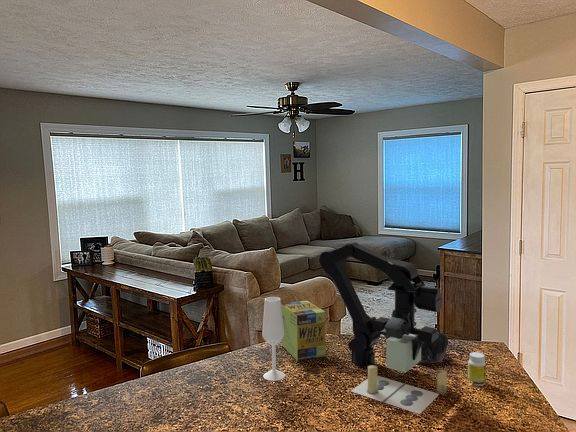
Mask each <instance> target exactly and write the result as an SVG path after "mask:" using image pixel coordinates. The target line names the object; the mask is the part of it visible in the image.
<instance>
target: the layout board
mask: <svg viewBox="0 0 576 432" xmlns="http://www.w3.org/2000/svg"><path fill="white" fill-rule="evenodd" d="M350 392H351V393H355V394H358V395H361V396H364V397H367V398H370V399H373V400H376V401H379V402H381V403H383V404H384V403H385V404H388V405H391V406H394V407H398V408H400V409H402V410H406V411H409V412H410V413H411V412H412V413H414V414H418V415H420V414H421V413H422V412H424V411H425V409H427V408H428V406H430V404H431V403H432V402H433V401H434V400H435V399H437V397H438V396H439V395H440V394H438V393H437V392H434V391H431V390H430V391H429V390H427V389H424V388H421V387H416V386H413V385H411V384H406V383H405V382H404V383H403V382H400V381H397V380H394V379H389V378H386V377H383V376H379V375H378V366H377V365H370V366H368V367H367V379H366V380H364V381H363V382H361V383H360V384H358V385H357V386H356V387H354V388H353V389H352V390H350Z"/></svg>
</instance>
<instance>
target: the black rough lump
mask: <svg viewBox="0 0 576 432" xmlns="http://www.w3.org/2000/svg"><path fill="white" fill-rule="evenodd" d="M448 345H449V339H448V337H447V335H446V334H445V333H444V332H442V331H439V336H438V339H436V340H435V341H434V342H432V343H426V342H424V343H423V344H422V346H421V361H420V362H418V363H417V364H427V365H428V364H435V363H436V364H437V363H442V362H443V361H444V358H445V355H446V353H447V350H448V348H447V347H448Z"/></svg>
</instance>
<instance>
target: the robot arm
mask: <svg viewBox="0 0 576 432" xmlns="http://www.w3.org/2000/svg"><path fill="white" fill-rule="evenodd" d="M349 258H353V259H355V260H357V261H359V262H362V263H363V264H365V265H367V266H369V267H371V268H373V269H376V270H378V271H380V272H381V273H383V274H384V275H385V276H386V277H387V278H388V279H389V280H390V281H392V282H393V283H392V284H391V285H390V286H389V287H387V290H388V291H392V292H393V291H394V309H393V310H392V313H391V317H390V318H388V317H383V316H380V317H378V318H376V316H373V317H371V316H369V315H368V314H367V312H366V311H365V308H364V306H363V304H362V302H361V300H360V297H359V295H358V293H357V292H356V289H355V287H354V285H353V283H352V281H351V279H350V277H349V276H348V272H347V261H346V260H347V259H349ZM318 264H319V265H320V267H321V268H322V270H323V271H324V273H325V274H326V275H327V276H328V277H330V278H331V279H332V280H333V282H334V284H335V287H336V289H337V292H338V293H339V295H340V297H341V300H342V301H343V303H344V306H345V307H346V310H347V312H348V314H349V315H350V318H351V321H352V333H353V336H354V337H353V338H352V339H351V340H350V341H349V342H348V343H347V345H348V349H349V351H351V363H353V364H354V365H355V366H357V367H361V368H362V367H363V368H364V367H367V368H368V366H370V365H374V366H376V365H375V364H376V363H375V362H376V358H375V357H376V355H375V353H374V352H375V351H374V346H375V345H376V343H377V342H378V341H379V340H380V338H381V336H382V335H383V336H384V337H385V338H386V340H387V339H388V338H389V337H395V338H397V339H400V338H402V337H403V335H409V334H413V335H415V337H416V338H415V339H413V340H412V342H413V360H415V359H416V357H417V355H418V353H419V350H420V348H421V346H422V344H423V343H424V342H426V343H432V342H434V341H435V340H436V339H438V336H439V333H440V331H439V330H438V329H437V328H435V327H431V326H426V325H425V326H423V327H422V328H418V327H417V328H416V326H417V322H416V321H415V320H416V319H415V313H417V309H418V310H422V311H428V312H433V313H439V312H441V309H442V307H443V299H444V298H443V297H442V293H441V292H440V291H441V289H440V287H437V286H436V287H435V286H434V287H431V286H426V284H425V282H424V280H423V279H422V277H421V276H420V274H419V272H418V269H417V267H416V265H415V264H414V263H412V262H410V261H409V262H407V261H403V260H399V259H393V258H389V257H387V256H385V255H382V254H380V253H379V252H376V251H374V250H372V249H370V248H368V247H365V246H364V245H361V244H359V243H358V242H355V241H354V242H349V243H346V244H345V245H343V246H342V247H339V248H333V249H329V250H325V251H323V252H321V253H320V255H319V258H318Z"/></svg>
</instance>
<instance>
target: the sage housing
mask: <svg viewBox="0 0 576 432" xmlns="http://www.w3.org/2000/svg"><path fill="white" fill-rule="evenodd" d="M415 338H416V337H415V335H413V334H409V335H403V337H402V338H400V339H397V338H395V337H389V338H388V339H387V338H386V352H385V353H386V361H385V362H386V363H385V364H386V365H385V366H386V367H385V368H388V369H390V370H395V371H398V372H402V373H405V374H406V373H407V372H408V371H410V370H411V369H413V367H415V366H416V365H418V364H419V363H418V362H420V361H421V348H420V350H419V353H418V355H417V357H416V359H415V360H413V342H412V340H413V339H415Z"/></svg>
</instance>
